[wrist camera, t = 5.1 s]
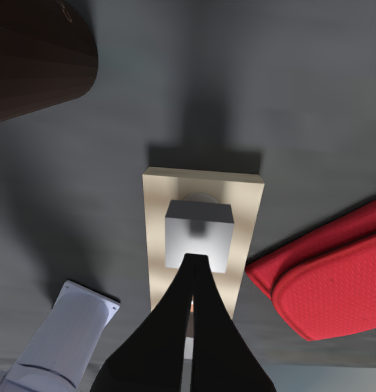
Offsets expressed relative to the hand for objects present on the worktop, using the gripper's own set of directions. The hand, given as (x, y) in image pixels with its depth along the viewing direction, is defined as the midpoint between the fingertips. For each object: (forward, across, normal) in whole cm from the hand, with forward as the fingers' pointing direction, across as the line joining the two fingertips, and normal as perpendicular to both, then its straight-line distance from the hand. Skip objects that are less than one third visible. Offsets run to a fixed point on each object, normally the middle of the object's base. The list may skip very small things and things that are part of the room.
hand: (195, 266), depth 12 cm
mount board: (+8, 0, +8) cm, 12 cm away
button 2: (+4, 0, 0) cm, 4 cm away
